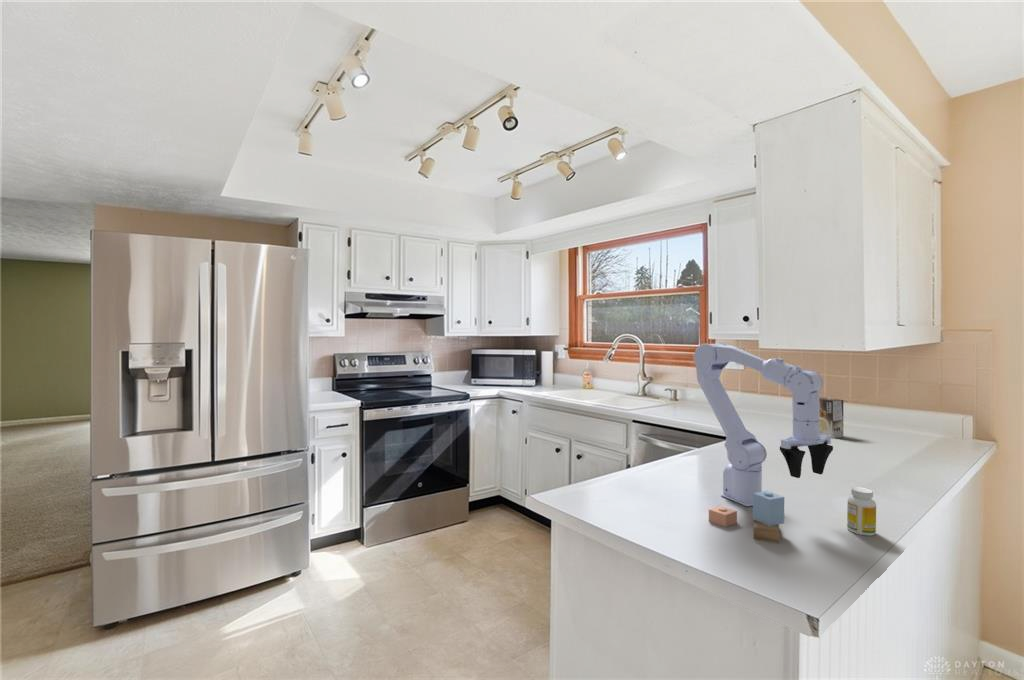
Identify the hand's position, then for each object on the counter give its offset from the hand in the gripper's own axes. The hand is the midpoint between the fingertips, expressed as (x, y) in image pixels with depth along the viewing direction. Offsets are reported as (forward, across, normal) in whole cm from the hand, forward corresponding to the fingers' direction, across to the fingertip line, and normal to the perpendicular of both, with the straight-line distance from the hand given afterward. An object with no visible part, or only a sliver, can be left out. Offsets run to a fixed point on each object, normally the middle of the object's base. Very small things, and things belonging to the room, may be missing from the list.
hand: (806, 475), depth 120 cm
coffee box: (+10, +94, +64) cm, 114 cm away
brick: (+10, -21, +6) cm, 24 cm away
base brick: (+11, -17, -3) cm, 20 cm away
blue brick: (+8, -16, -3) cm, 18 cm away
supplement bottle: (+11, +4, -10) cm, 16 cm away
